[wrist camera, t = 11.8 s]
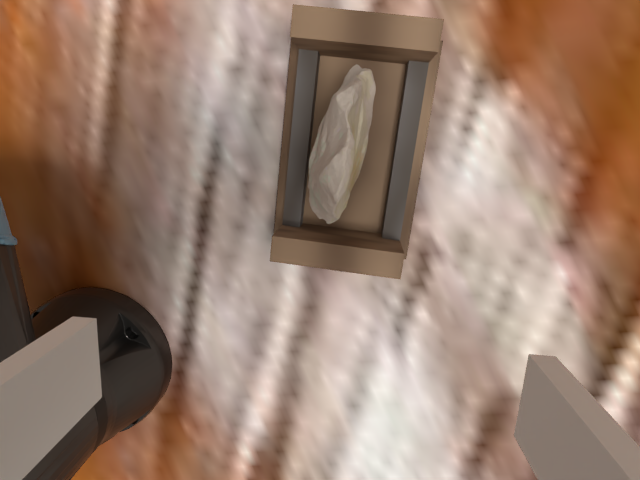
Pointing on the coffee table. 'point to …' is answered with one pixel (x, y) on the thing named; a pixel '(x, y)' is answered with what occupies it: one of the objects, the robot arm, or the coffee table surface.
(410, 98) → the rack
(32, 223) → the coffee table surface
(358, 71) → the stone tool
